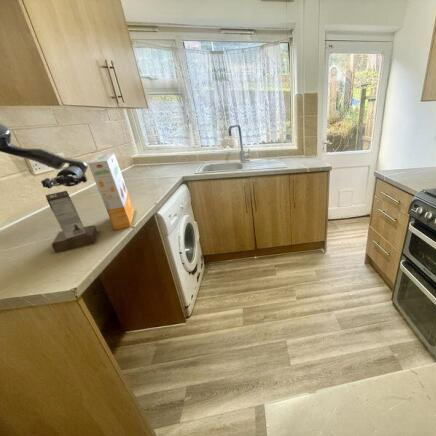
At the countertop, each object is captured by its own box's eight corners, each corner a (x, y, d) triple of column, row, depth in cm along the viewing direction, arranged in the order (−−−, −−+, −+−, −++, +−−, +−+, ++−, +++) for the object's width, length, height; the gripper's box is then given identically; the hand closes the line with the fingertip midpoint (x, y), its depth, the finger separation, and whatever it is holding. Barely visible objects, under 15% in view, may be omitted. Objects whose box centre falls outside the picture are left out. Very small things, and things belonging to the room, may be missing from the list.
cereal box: (120, 213, 126) (98, 154, 114) (134, 210, 129) (114, 153, 116) (115, 230, 108) (87, 163, 95) (131, 227, 110) (106, 160, 98)
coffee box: (63, 232, 98) (44, 194, 92) (83, 226, 103) (66, 190, 96) (66, 239, 93) (46, 199, 86) (87, 233, 97) (69, 195, 90)
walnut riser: (55, 252, 91) (50, 243, 90) (62, 239, 101) (58, 231, 99) (94, 244, 97) (91, 235, 95) (98, 232, 106) (94, 224, 105)
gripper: (92, 182, 117) (86, 190, 104) (53, 186, 110) (42, 196, 97) (86, 166, 114) (80, 172, 101) (46, 170, 107) (34, 177, 94)
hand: (61, 184), depth 99 cm, fingers open, 8 cm apart
